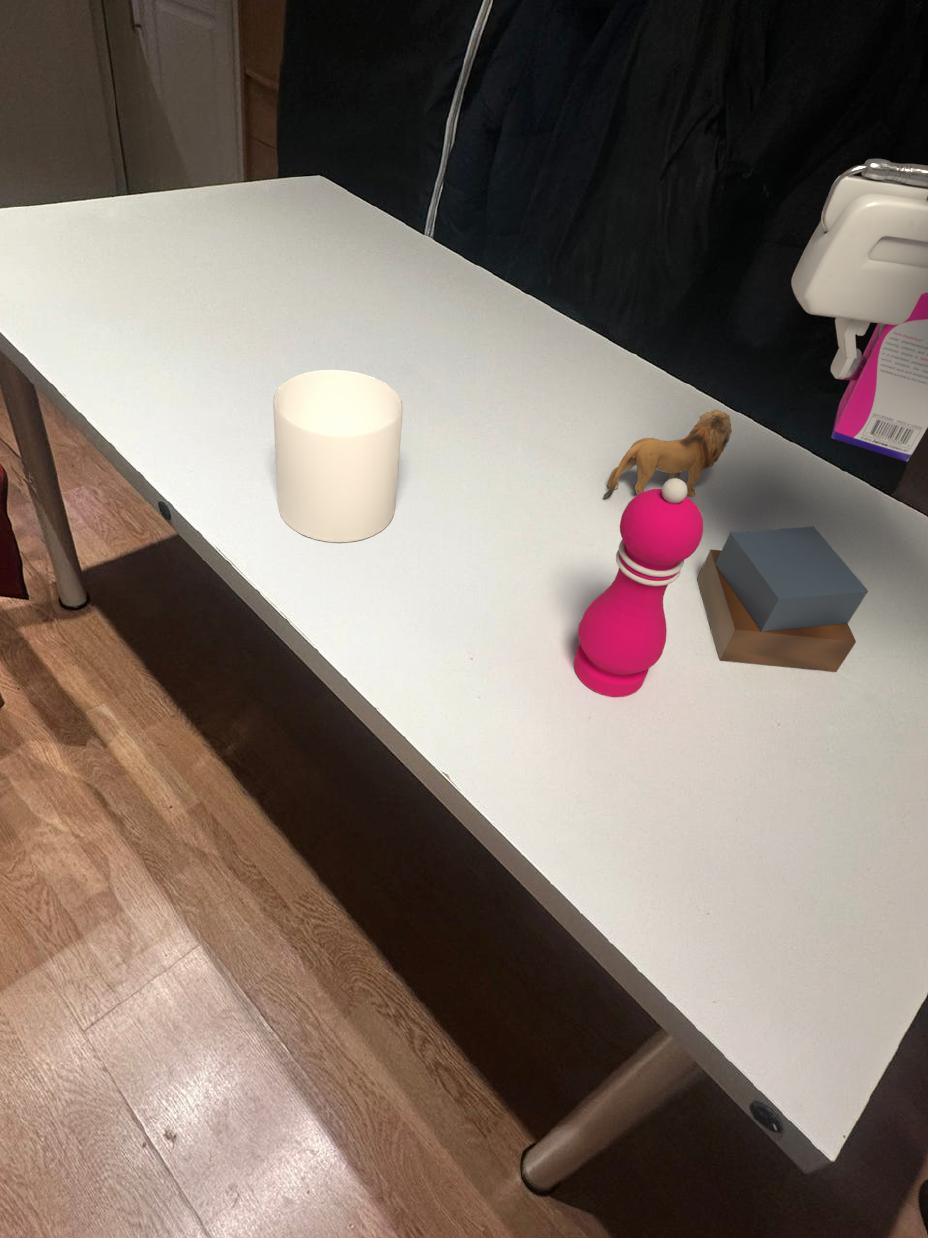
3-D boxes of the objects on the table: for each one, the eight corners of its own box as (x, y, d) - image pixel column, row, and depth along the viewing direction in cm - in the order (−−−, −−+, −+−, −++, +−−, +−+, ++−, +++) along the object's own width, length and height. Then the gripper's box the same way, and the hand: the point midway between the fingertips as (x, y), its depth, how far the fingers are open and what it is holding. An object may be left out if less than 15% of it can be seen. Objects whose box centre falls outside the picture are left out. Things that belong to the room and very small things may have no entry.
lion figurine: (692, 465, 97) (717, 397, 91) (721, 491, 94) (749, 422, 88) (590, 488, 91) (610, 416, 85) (618, 516, 88) (640, 444, 82)
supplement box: (910, 428, 64) (994, 282, 56) (907, 463, 60) (997, 311, 52) (836, 405, 65) (907, 259, 57) (828, 438, 61) (904, 286, 53)
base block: (803, 591, 83) (819, 560, 80) (836, 672, 75) (856, 642, 72) (697, 579, 82) (710, 548, 79) (719, 660, 74) (735, 629, 71)
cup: (298, 553, 77) (295, 444, 69) (263, 482, 85) (257, 376, 76) (412, 530, 82) (423, 426, 74) (370, 465, 89) (376, 363, 81)
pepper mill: (558, 684, 70) (617, 492, 56) (579, 630, 75) (638, 441, 61) (641, 713, 68) (722, 524, 55) (656, 656, 73) (734, 469, 60)
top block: (796, 558, 80) (814, 525, 77) (848, 623, 74) (868, 590, 71) (714, 564, 78) (729, 531, 75) (761, 632, 71) (778, 599, 69)
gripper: (862, 169, 47) (770, 387, 57) (1192, 217, 49) (1048, 421, 58) (829, 139, 52) (749, 345, 61) (1132, 183, 53) (1007, 378, 63)
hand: (897, 383), depth 60 cm, fingers closed on supplement box, 7 cm apart
